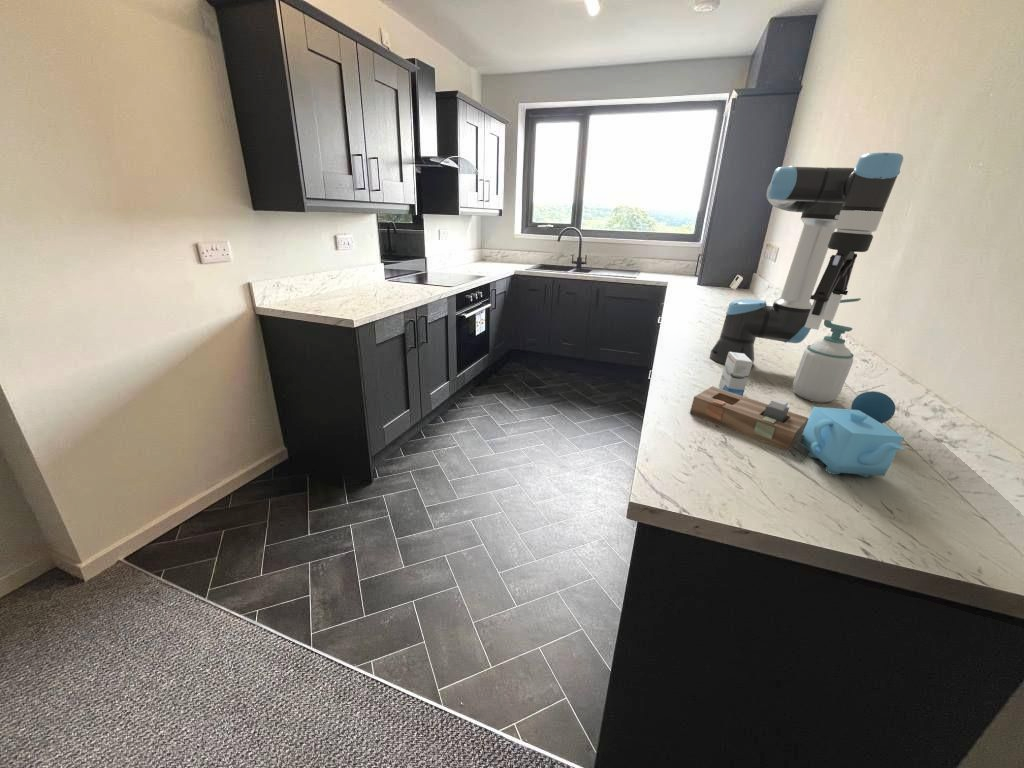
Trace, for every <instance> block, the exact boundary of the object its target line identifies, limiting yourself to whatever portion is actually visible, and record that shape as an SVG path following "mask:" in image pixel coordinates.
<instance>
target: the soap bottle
mask: <svg viewBox="0 0 1024 768" xmlns="http://www.w3.org/2000/svg"><path fill="white" fill-rule="evenodd" d="M861 300H862V299H861V298H859V297H858V298H847V299H846V298H845V299H841V301H840V303H839V304H843V303H853V302H854V303H855V302H859V301H861ZM823 325H824V327H825V328H828V329H830V332H832V334H831V335H830V336H828V335H825V336H824V337H823V339H822V340H820V341H817V342H814V343H811V344H808V345H807V347H806V348H805V349H804V351H803V354H802V356H801V359H800V362H799V364H798V367H797V370H796V372H795V376H794V378H793V382H792V389H793V391H794V393H795V394H796V395H797V396H798V397H800V398H802V399H805V400H807V401H809V402H810V401H811V402H815V403H829V402H833V401H835V400H836V399H837V398H838V397H839V396H840V394H841V392H842V389H843V388H844V385H845V383H846V380H847V378H848V375H849V373H850V371H851V369H852V366H853V363H854V354H853V353H852V352H851V350H850V349H849V348H848V347H847V346H846V345H845V342H846V339H843V338H841V335H844V334H845V333H846V332H851V331H852V330H853V328H852V327H851V326H850V327H849V326H846V325H839V324H836V323H832V321H829V320H824V321H823Z"/></svg>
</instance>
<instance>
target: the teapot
mask: <svg viewBox="0 0 1024 768" xmlns="http://www.w3.org/2000/svg"><path fill="white" fill-rule="evenodd" d="M808 418H809V419H808V422H807V424H806V427H805V429H804V432H803V434H802V436H801V437H800V439H799V444H801V445H802V446H804V447H805V449H807V450H808V452H807V456H809V457H811V458H814V459H819V460H820V461H821V462H822V463H823V464H824V465H826V467H825V468H824V469H826V470H827V471H829V472H831V473H834V474H833V475H835V474H839V475H840V474H854V475H857V476H860V477H863V476H864V477H865V478H868V477H869V476H878V477H879V476H880V477H881V476H883V477H885V476H886V474H887V471H888V469H889V468H890V466H891V464H892V462H893V460H894V458H895V455H896V454H897V453H898V450H905V448H904V447H903V446H901V444H902V442H903V440H904V436H903V435H901V434H899V433H898V432H896V431H894V430H893V429H891V428H890V427H888V426H886V424H885V423H882V424H881V423H880V422H878V421H876V420H875V419H873V418H871V417H870V416H868V415H866V414H865V413H863V412H861V411H860V410H852V409H851V408H849V409H847V408H835V407H820V406H813V408H812V409H811V412H810V415H809V417H808ZM826 470H825V471H826ZM827 471H826V472H827ZM829 472H828V473H829ZM831 473H830V474H831Z"/></svg>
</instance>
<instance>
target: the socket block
mask: <svg viewBox="0 0 1024 768" xmlns="http://www.w3.org/2000/svg"><path fill="white" fill-rule="evenodd" d="M768 404H769V403H768ZM768 404H767V403H765V402H762V401H758V400H755V399H752V398H749V397H746V396H744V395H743V396H741V395H737V394H734V393H731V392H728V391H725V390H722V389H721V388H720V387H717V386H710V387H708V388H707V389H705V390H703V391H702V392H700V393H698V394H696V395H694V396H693V400H692V404H691V408H690V412H689V414H692V415H694V416H697V417H699V418H701V419H704V420H706V421H710V422H712V423H715V424H717V425H720V426H721V427H725V428H728V429H730V430H733V431H736V432H737V431H738V433H741V434H743V435H745V436H748V437H750V436H751V438H753V439H756V440H759V441H761V442H764V443H767V444H769V445H771V444H772V446H774V447H776V446H777V448H779V449H781V448H782V450H785V451H788V452H789V451H790V450H791V449H792V448H793V446H794V445H795V444H797V442H798V441H800V439H801V437H802V435H803V432H804V430H805V427H806V424H807V422H808V419H809V417H806V416H804V415H801V414H798V413H796V412H795V413H794V412H791V411H789V410H788V413H787V416H786V418H785V421H784V423H782V422H779V421H777V420H775V419H772V418H769V417H765V416H763V414H764V411H765V409H766V406H767V405H768ZM791 447H792V448H791Z"/></svg>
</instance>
